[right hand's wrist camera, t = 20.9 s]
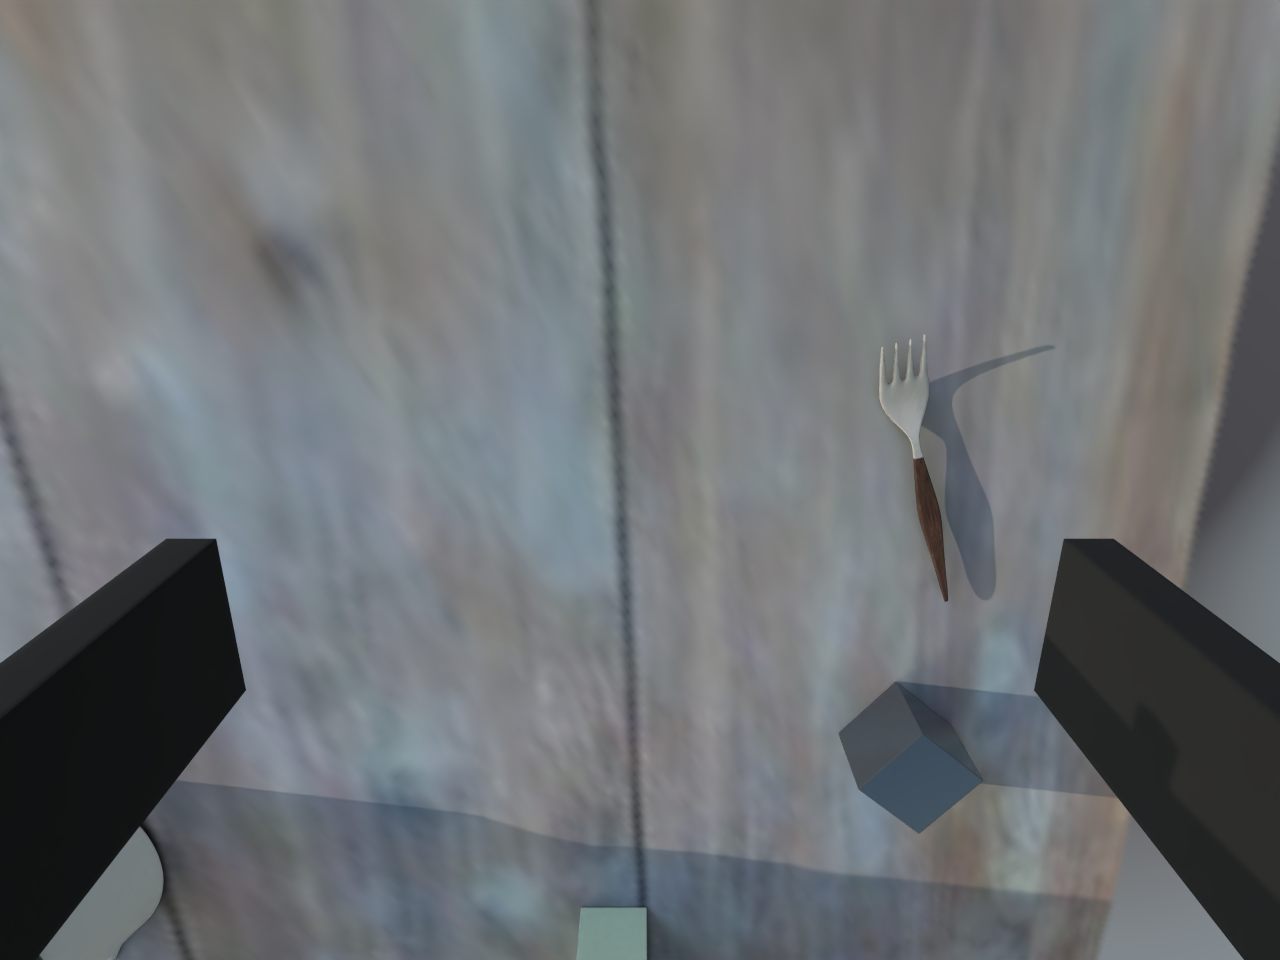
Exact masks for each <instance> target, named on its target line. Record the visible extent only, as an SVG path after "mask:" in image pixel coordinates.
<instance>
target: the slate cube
mask: <svg viewBox="0 0 1280 960" xmlns="http://www.w3.org/2000/svg"><path fill="white" fill-rule="evenodd" d="M839 737H840V739H841V742H842V745H843V748H844V750H845V753H846V756H847V759H848V761H849V764H850V767H851V770H852V773H853V775H854V778H855V781H856V784H857V786H858V789H859V790H860V791H861V792H863V793H864V794H866V795H867V796H868V797H870V798H871V799H872V800H874V801H875V802H876V803H878V804H879V805H880V806H882V807H883V808H885V809H886V810H887V811H889V812H890V813H891V814H893V815H894V816H895V817H897V818H898V819H900V820H901V821H902V822H904V823H905V824H906V825H908V826H909V827H910V828H912V829H913V830H914V831H916V832H917V833H921V832H922V831H923V830H924V829H925V828H927V827H928V826H929V825H930V824H931V823H933V822H934V821H935V820H936V819H938V818H939V817H940V816H941V815H942V814H944V813H945V812H946V811H947V810H948V809H950V808H951V807H952V806H953V805H955V804H956V803H957V802H958V801H959V800H961V799H962V798H963V797H964V796H965V795H967V794H968V793H969V792H970V791H972V790H973V789H974V788H975V787H976V786H978V785H979V784H980V783H981V782H982V781H983V779H982V777H981V775H980V774H979V772H978V770H977V768H976V767H975V765H974V763H973V761H972V760H971V758H970V756H969V755H968V753H967V751H966V749H965V748H964V746H963V744H962V742H961V741H960V739H959V737H958V735H957V734H956V732H955V730H954V728H953V727H952V725H951V724H949V723H948V722H947V721H946V720H944V719H943V718H942V717H941V716H939V715H938V714H937V713H935V712H934V711H933V710H932V709H930V708H929V707H928V706H927V705H925V704H924V703H923V702H922V701H920V700H919V699H918V698H916V697H915V696H914V695H913V694H911V693H910V692H909V691H908V690H906V689H905V688H904V687H903V686H901V685H900V684H899V683H897V682H895V683H894V684H893V685H892V686H891V687H890V688H888V689H887V690H886V691H885V692H884V693H883V694H882V695H881V696H880V697H878V698H877V699H876V700H875V701H874V702H873V703H872V704H871V705H870V706H868V707H867V708H866V709H865V710H864V711H863V712H862V713H861V714H860V715H858V716H857V717H856V718H855V719H854V720H853V721H852V722H851V723H850V724H848V725H847V726H846V727H845V728H844V729H843V730H842V731H841V732H840V733H839Z"/></svg>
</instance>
